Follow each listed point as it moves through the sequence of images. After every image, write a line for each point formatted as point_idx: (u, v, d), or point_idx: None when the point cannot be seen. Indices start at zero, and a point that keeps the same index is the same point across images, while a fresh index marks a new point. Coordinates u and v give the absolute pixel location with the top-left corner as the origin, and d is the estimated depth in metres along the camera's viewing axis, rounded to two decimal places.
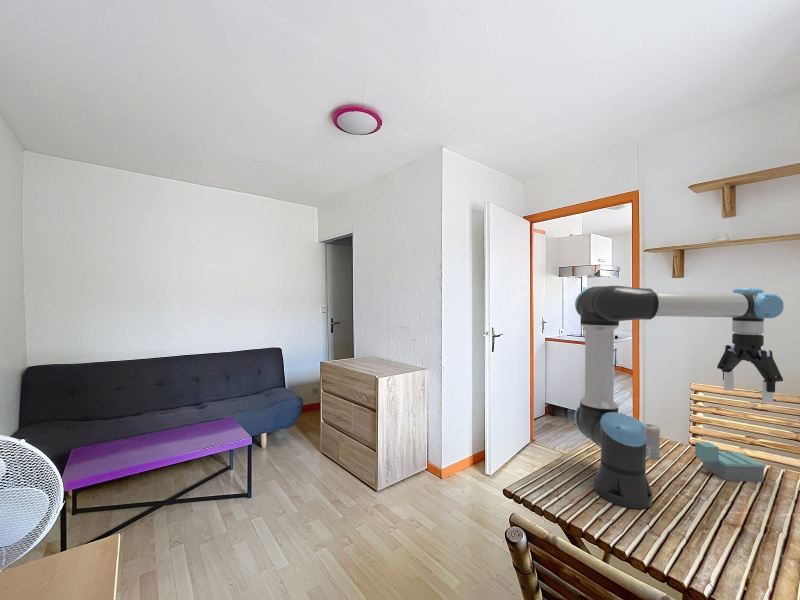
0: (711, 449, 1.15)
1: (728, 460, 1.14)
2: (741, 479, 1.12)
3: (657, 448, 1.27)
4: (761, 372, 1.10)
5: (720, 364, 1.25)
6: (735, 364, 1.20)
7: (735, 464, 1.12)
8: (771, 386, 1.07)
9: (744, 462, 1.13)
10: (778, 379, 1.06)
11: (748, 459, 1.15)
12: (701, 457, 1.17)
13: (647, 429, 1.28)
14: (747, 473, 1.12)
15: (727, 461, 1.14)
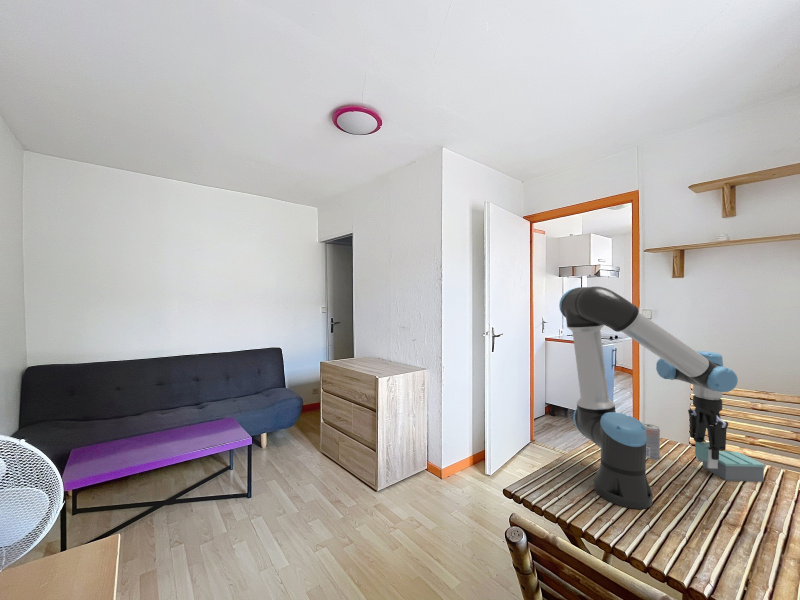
0: None
1: (728, 460, 1.14)
2: (741, 479, 1.12)
3: (657, 448, 1.27)
4: (710, 439, 1.14)
5: (691, 432, 1.22)
6: (703, 431, 1.19)
7: (735, 464, 1.12)
8: (715, 454, 1.13)
9: (744, 462, 1.13)
10: (721, 449, 1.11)
11: (748, 459, 1.15)
12: (701, 457, 1.17)
13: (647, 429, 1.28)
14: (747, 473, 1.12)
15: (727, 461, 1.14)
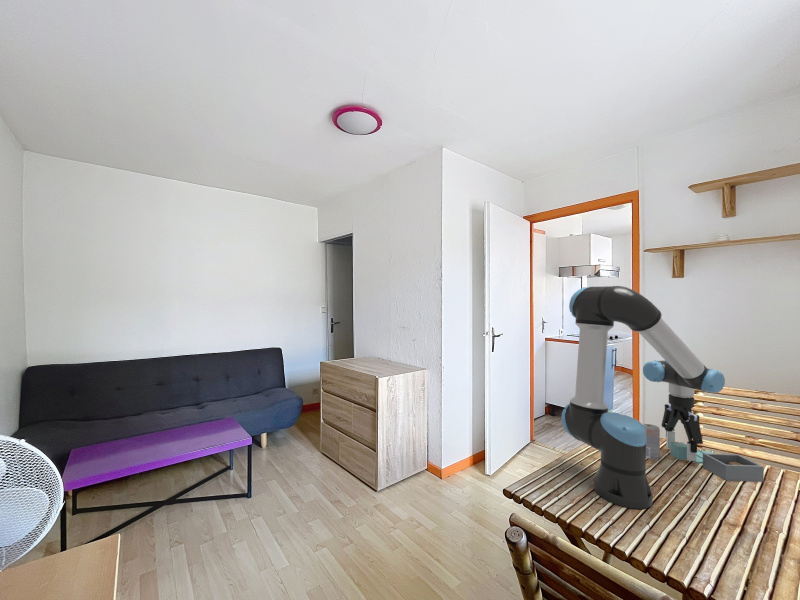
0: (684, 449, 1.27)
1: (699, 458, 1.26)
2: (741, 479, 1.12)
3: (657, 448, 1.27)
4: (687, 433, 1.24)
5: (663, 423, 1.36)
6: (674, 423, 1.33)
7: None
8: (693, 447, 1.22)
9: None
10: (698, 442, 1.21)
11: None
12: (675, 456, 1.28)
13: (647, 429, 1.28)
14: (747, 473, 1.12)
15: (698, 459, 1.26)
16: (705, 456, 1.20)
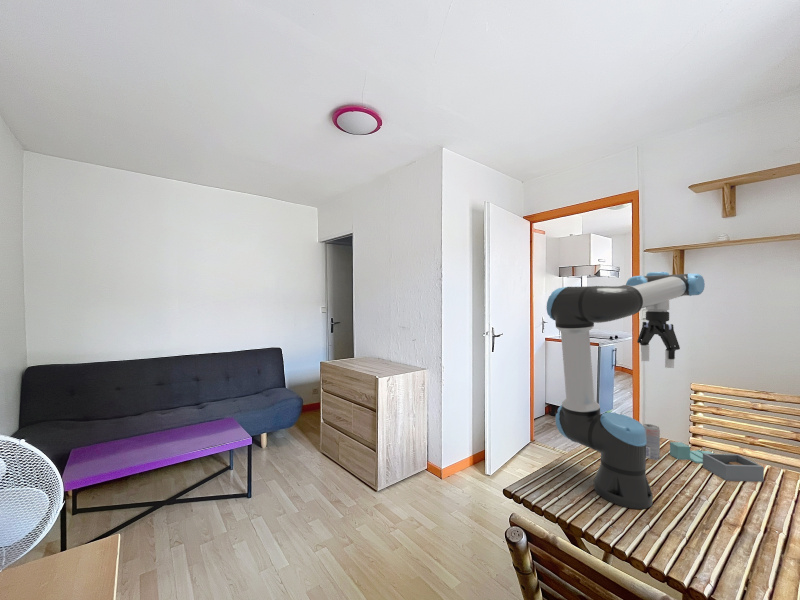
0: (683, 448, 1.27)
1: (698, 458, 1.26)
2: (741, 479, 1.12)
3: (657, 448, 1.27)
4: (665, 343, 1.29)
5: (639, 339, 1.44)
6: (649, 338, 1.40)
7: None
8: (671, 354, 1.27)
9: None
10: (676, 347, 1.25)
11: None
12: (674, 456, 1.28)
13: (647, 429, 1.28)
14: (747, 473, 1.12)
15: (697, 459, 1.26)
16: (705, 456, 1.20)
